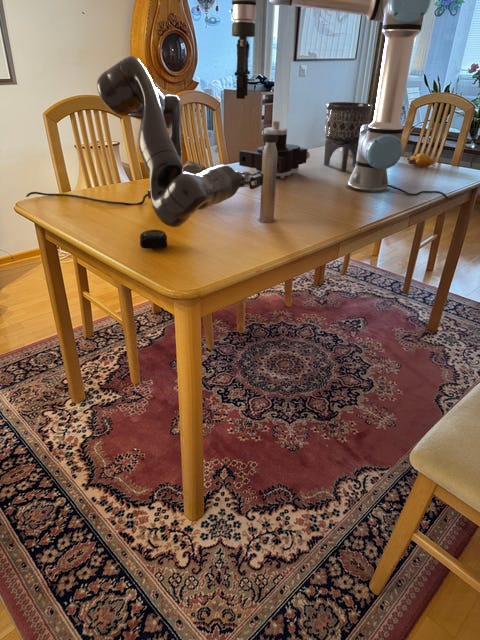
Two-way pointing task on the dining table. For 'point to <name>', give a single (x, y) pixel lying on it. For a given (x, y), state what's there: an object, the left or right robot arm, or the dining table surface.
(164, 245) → the tape measure
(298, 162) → the mechanical component
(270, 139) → the cap
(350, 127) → the planter
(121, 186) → the dining table surface
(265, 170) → the bottle
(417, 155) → the toy
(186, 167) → the rock
